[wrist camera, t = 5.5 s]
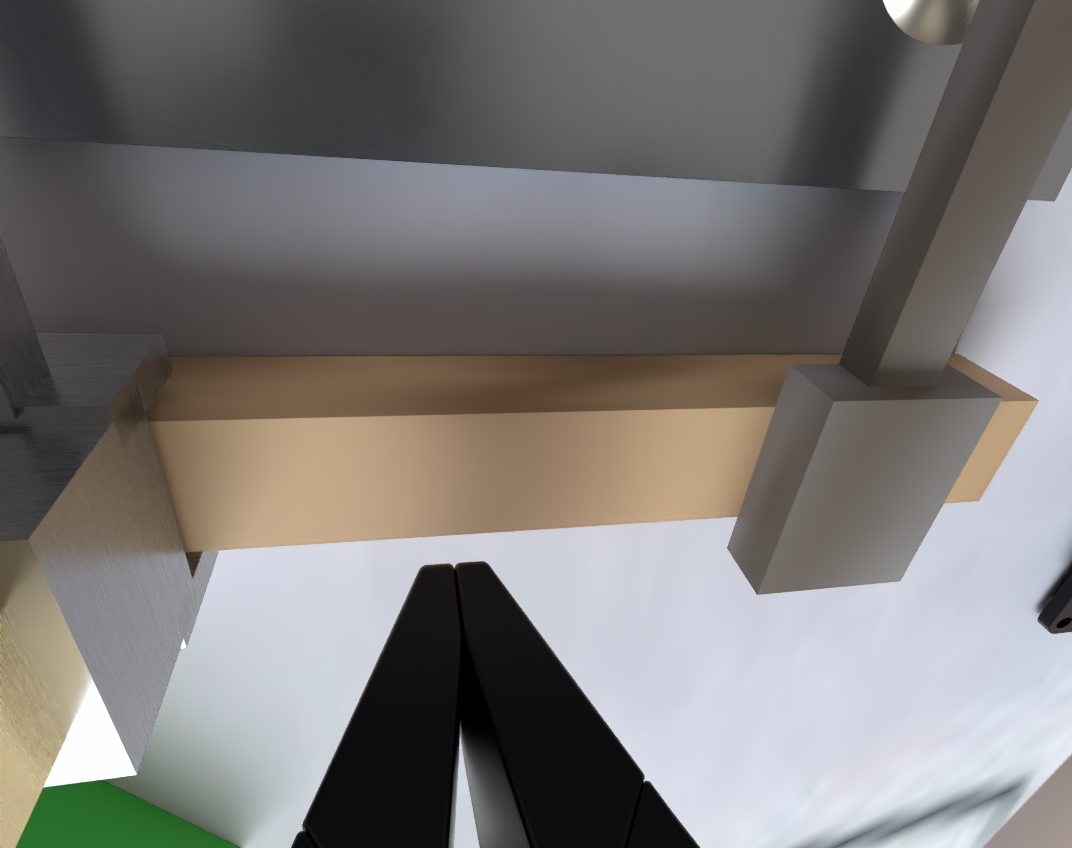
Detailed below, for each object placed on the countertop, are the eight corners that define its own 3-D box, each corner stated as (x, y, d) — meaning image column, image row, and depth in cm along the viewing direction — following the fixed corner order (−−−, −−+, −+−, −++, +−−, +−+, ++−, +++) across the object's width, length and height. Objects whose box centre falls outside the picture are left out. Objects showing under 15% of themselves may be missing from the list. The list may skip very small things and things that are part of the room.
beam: (1172, -80, 9) (1481, -123, 7) (897, 474, 15) (1007, 570, 12) (-492, -397, 5) (-1361, -817, 3) (-23, 521, 11) (-158, 681, 8)
